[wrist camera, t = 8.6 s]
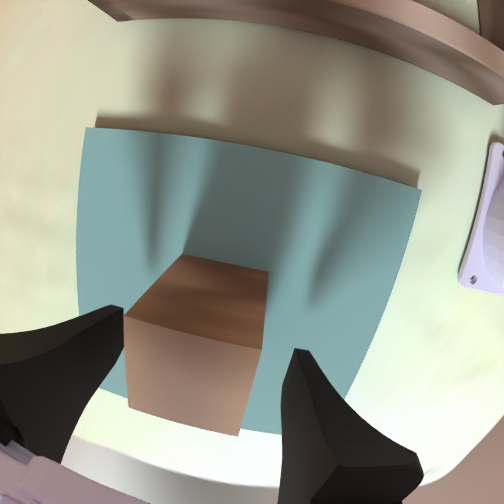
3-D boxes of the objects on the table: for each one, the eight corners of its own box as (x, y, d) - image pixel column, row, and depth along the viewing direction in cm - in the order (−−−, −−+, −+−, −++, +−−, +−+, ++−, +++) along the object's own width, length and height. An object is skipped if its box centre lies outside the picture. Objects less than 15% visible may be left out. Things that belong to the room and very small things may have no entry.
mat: (417, 188, 12) (421, 190, 12) (321, 433, 17) (322, 438, 17) (91, 127, 13) (86, 127, 12) (91, 379, 18) (88, 383, 17)
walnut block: (268, 271, 14) (262, 349, 8) (251, 344, 15) (237, 436, 9) (182, 253, 14) (123, 315, 8) (174, 326, 15) (128, 407, 9)
